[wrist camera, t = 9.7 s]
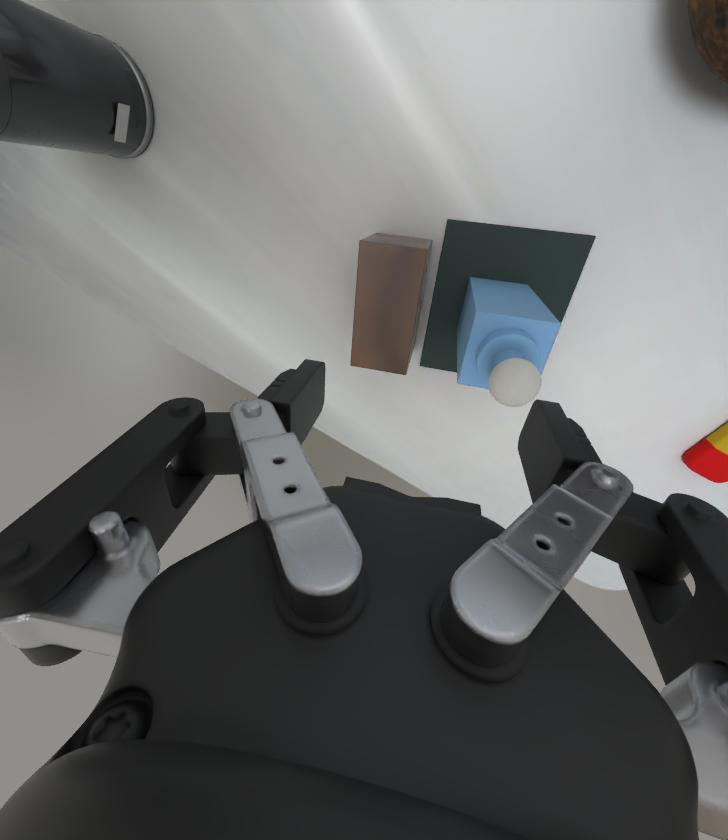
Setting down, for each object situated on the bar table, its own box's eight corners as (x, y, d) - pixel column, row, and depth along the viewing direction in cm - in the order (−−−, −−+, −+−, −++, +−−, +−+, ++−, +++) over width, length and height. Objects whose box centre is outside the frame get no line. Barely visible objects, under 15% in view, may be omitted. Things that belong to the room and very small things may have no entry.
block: (365, 340, 44) (350, 365, 38) (376, 233, 38) (359, 240, 31) (413, 348, 43) (406, 375, 37) (432, 239, 37) (427, 248, 30)
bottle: (509, 278, 39) (688, 342, 24) (494, 330, 42) (642, 417, 27) (397, 274, 35) (525, 349, 20) (389, 333, 38) (495, 436, 23)
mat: (419, 365, 44) (419, 366, 44) (447, 219, 36) (447, 219, 35) (535, 384, 42) (536, 385, 42) (594, 235, 34) (595, 236, 34)
